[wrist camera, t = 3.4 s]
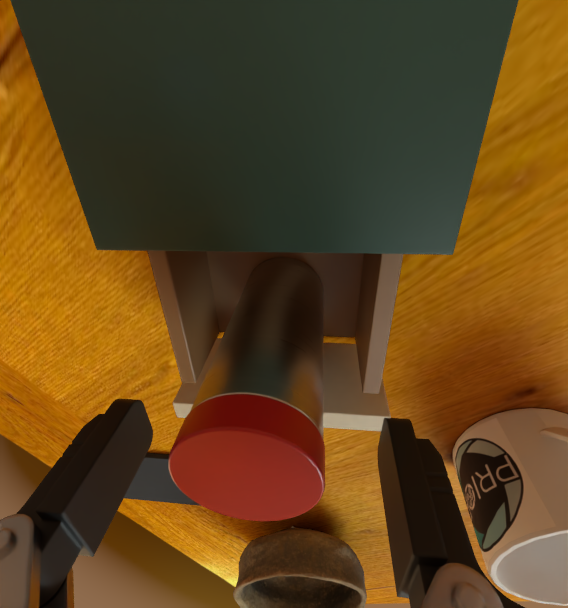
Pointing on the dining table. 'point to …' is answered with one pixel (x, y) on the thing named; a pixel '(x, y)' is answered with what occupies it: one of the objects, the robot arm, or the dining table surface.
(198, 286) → the drawer
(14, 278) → the dining table surface
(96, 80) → the cabinet
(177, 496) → the mat
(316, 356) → the jar
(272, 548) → the bowl
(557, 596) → the mug
